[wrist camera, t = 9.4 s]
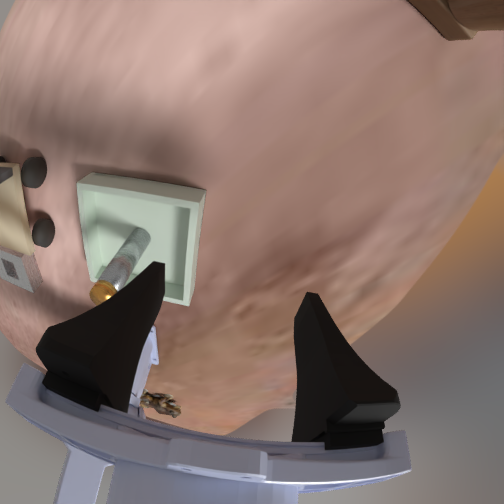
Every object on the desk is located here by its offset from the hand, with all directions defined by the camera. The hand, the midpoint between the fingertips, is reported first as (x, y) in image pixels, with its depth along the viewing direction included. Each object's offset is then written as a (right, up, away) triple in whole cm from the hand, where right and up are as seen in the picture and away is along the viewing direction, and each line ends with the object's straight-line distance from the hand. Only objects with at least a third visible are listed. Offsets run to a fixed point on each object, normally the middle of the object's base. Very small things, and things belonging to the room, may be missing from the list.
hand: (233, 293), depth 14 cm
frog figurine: (-17, -27, +33) cm, 46 cm away
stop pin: (-9, +3, +10) cm, 14 cm away
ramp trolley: (-24, +8, +8) cm, 27 cm away
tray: (-9, +4, +11) cm, 15 cm away
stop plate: (-31, +1, +14) cm, 35 cm away
